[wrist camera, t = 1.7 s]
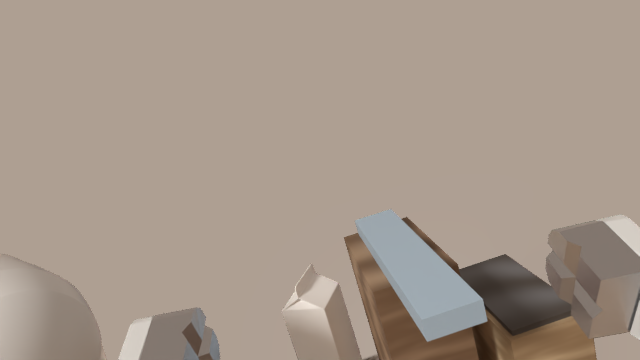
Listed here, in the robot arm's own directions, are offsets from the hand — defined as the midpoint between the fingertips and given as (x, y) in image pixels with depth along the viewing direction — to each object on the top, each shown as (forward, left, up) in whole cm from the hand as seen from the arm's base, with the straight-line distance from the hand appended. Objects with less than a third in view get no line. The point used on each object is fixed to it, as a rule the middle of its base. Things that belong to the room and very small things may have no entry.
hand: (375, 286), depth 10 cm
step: (0, +36, -41) cm, 54 cm away
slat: (-8, +27, -15) cm, 32 cm away
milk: (-23, +34, -41) cm, 58 cm away
